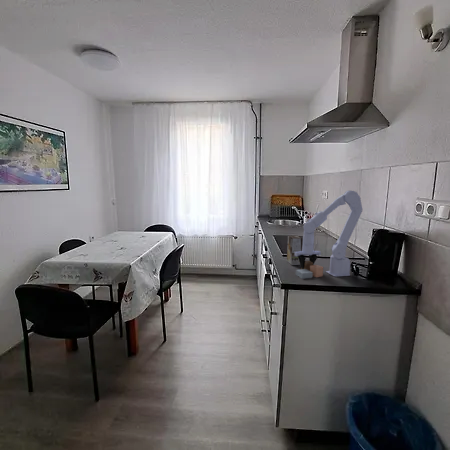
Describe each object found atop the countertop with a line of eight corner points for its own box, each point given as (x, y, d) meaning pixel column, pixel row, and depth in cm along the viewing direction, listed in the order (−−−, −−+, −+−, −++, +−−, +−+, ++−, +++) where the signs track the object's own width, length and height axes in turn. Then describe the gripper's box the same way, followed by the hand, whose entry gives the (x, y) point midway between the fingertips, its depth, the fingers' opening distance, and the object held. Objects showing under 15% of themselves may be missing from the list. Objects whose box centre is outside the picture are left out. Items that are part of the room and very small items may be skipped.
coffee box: (301, 265, 157) (303, 238, 154) (291, 265, 156) (292, 238, 154) (296, 260, 166) (297, 235, 163) (286, 260, 165) (287, 235, 163)
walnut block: (308, 269, 149) (308, 260, 148) (312, 271, 145) (313, 262, 144) (300, 269, 148) (301, 260, 147) (304, 272, 144) (305, 263, 143)
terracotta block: (315, 273, 142) (316, 264, 141) (322, 276, 138) (323, 266, 137) (309, 274, 140) (310, 265, 139) (316, 277, 136) (316, 268, 135)
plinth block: (305, 274, 141) (306, 269, 141) (312, 278, 135) (312, 272, 135) (295, 275, 139) (295, 269, 139) (301, 279, 134) (302, 273, 133)
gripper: (316, 241, 150) (314, 265, 152) (292, 242, 146) (291, 266, 148) (323, 244, 143) (321, 269, 145) (298, 245, 140) (297, 270, 142)
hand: (306, 268), depth 146 cm, fingers closed on walnut block, 4 cm apart
